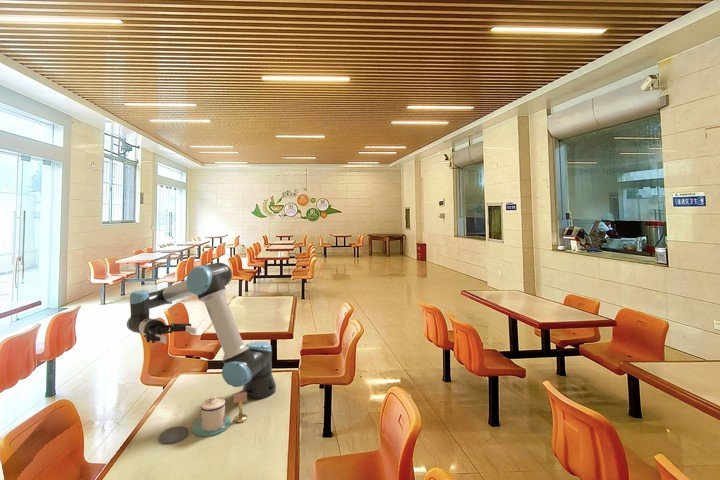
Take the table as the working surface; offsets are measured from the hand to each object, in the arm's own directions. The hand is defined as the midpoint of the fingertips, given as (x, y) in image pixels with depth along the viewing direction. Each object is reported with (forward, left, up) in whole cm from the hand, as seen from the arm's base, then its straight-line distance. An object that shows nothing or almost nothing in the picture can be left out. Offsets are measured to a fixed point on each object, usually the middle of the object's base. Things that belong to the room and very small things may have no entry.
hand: (181, 335), depth 154 cm
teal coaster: (-12, +18, -32) cm, 39 cm away
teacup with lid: (-12, +18, -31) cm, 38 cm away
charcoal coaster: (+1, +20, -32) cm, 38 cm away
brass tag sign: (-23, +17, -32) cm, 43 cm away
